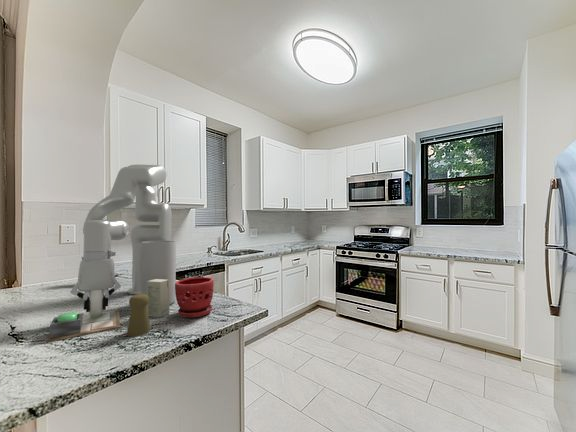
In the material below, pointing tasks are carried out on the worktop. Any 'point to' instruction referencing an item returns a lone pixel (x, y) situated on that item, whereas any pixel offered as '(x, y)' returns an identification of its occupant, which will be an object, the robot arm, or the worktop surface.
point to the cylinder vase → (159, 264)
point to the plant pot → (194, 296)
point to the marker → (96, 302)
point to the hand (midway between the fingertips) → (96, 309)
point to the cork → (138, 315)
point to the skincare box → (158, 297)
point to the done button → (67, 317)
